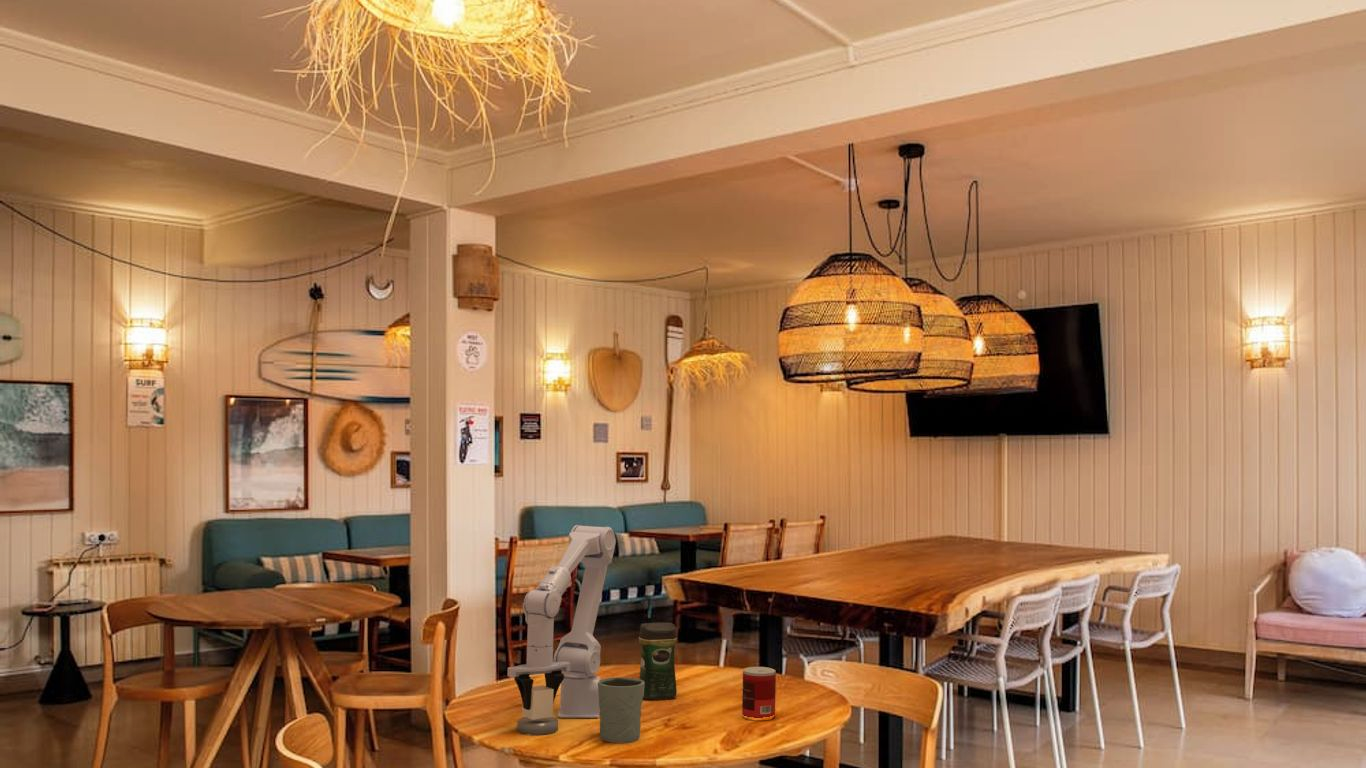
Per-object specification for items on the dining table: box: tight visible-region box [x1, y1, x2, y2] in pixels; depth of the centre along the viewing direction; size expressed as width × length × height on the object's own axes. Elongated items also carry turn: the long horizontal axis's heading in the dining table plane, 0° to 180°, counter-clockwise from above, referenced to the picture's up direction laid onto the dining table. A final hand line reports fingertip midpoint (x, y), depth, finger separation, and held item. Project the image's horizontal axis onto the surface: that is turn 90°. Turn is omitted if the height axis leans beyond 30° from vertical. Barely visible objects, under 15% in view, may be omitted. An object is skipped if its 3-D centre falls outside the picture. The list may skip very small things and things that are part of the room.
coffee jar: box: [638, 622, 678, 700], centre depth 269 cm, size 10×8×19 cm
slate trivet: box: [516, 716, 559, 736], centre depth 235 cm, size 9×9×2 cm
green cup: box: [598, 676, 644, 744], centre depth 230 cm, size 10×10×12 cm
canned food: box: [741, 666, 777, 718], centre depth 251 cm, size 8×8×11 cm
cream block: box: [521, 684, 554, 720], centre depth 235 cm, size 5×5×6 cm
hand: (538, 707), depth 235 cm, fingers closed on cream block, 5 cm apart
